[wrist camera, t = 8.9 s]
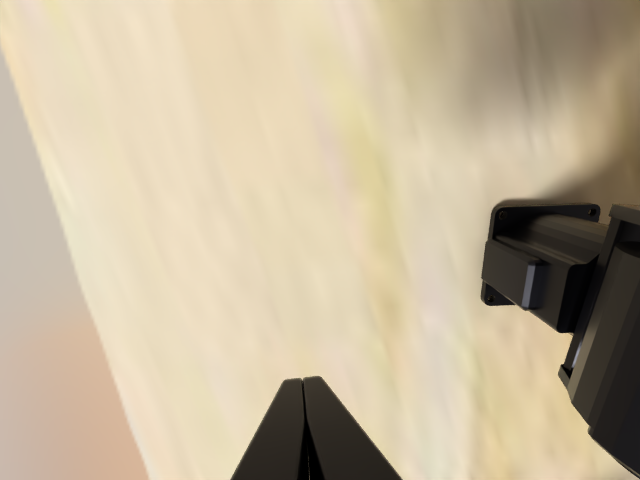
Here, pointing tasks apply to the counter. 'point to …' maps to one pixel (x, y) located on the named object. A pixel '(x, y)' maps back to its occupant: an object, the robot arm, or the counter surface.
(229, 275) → the counter surface
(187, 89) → the counter surface
